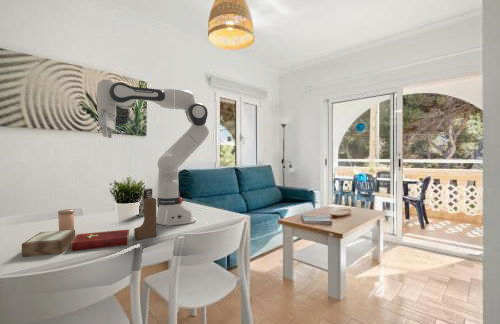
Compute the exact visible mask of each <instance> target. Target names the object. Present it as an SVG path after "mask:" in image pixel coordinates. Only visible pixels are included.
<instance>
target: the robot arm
mask: <svg viewBox="0 0 500 324" xmlns="http://www.w3.org/2000/svg"><path fill="white" fill-rule="evenodd" d="M96 98H97V103H96V107H97V108H96V109H97V111H96V113H97V115H98V119H97V120H98V121H97V122H98V127H99V128H101V132H102V136H103V137H107V138H108V139H112V137H113V136H112V135H113V131H115V130H116V124H117V122H116V120H117V119H116V117H117V116H118V113H117V105H118V106H122V107H131V106H132V105H134V103H135V101H148V102H153V103H155V104H157V105H158V106H160V107H161V108H164V109H171V110H183V111H184V113H185V116H186V118H187V120H188V122H189V123H190V124H191V125H190V127H189V129H187V131H185V132H184V133H183V135H182V136H180V138H179V139H177V140H176V141H175V142H174V143H173V144H172V145H171V146H170V147H169V148H168V149H167V150H166V151H165V152H163V154H162V155H161V156H160V157H159V158H158V160H157V167H158V181H157V191H158V192H157V199H156V207H157V211H156V225H157V224H158V225H163V226H167V227H169V226H178V225H184V224H185V225H186V224H194V223H195V222H196V221H197V219H196V217H195V216H193V212H192V210H191V208H190V207H188V206H187V205H185V204H184V203H183V202H184V199H183V198H182V197H181V196H179V168H180V167H181V166H182V165H183V164H184V162H186V160H187V159H188V158H189V157H190V156H191V155H192V154H193V153H194V152H195V151H196V150H197V149H199V147H200V146H201V145H202V144H203V143H204V141H205V140H206V139H207V138H208V136H209V134H210V131H209V128H208V127H207V125H206V123H207V118H208V116H209V115H208V114H209V113H208V109H207V107H206V106H205V105H204V104H202V103H200V102H198V103H197V102H195V96H194V93H193V92H191V91H189V90H184V89H176V88H148V87H141V86H140V87H139V86H132V85H129V84H127V83H125V82H121V81H117V82H115V81H114V80H111V79H102V80H100V81H98V83H97V86H96Z"/></svg>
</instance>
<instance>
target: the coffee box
mask: <svg viewBox="0 0 500 324" xmlns="http://www.w3.org/2000/svg"><path fill="white" fill-rule="evenodd" d="M143 189H144V195H143V197H142V200H141V202H140V206H139V217H144V199H145V198H153V188H143Z"/></svg>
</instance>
